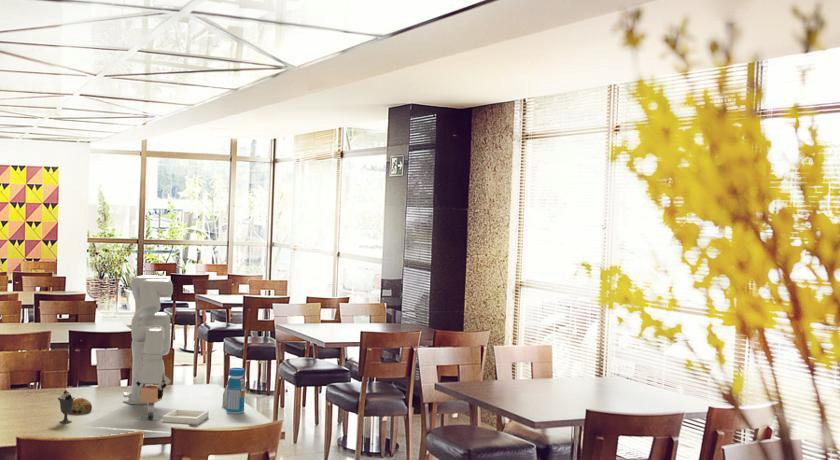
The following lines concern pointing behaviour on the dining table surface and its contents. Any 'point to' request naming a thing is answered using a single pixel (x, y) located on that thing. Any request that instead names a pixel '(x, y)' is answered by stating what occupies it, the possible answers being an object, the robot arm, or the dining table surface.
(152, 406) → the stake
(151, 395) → the collar
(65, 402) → the sundae
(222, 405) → the grey faceted block
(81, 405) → the bread roll
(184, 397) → the dining table surface
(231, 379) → the beverage bottle
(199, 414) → the tray
